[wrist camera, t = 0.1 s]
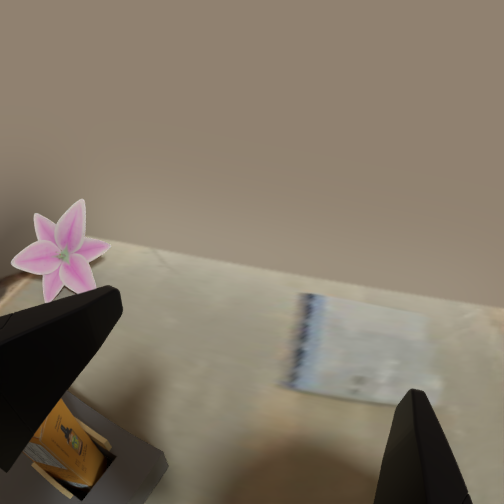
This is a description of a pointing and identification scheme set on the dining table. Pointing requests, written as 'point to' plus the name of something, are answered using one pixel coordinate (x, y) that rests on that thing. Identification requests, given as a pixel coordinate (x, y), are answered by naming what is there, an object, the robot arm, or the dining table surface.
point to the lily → (62, 253)
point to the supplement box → (66, 451)
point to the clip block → (112, 481)
